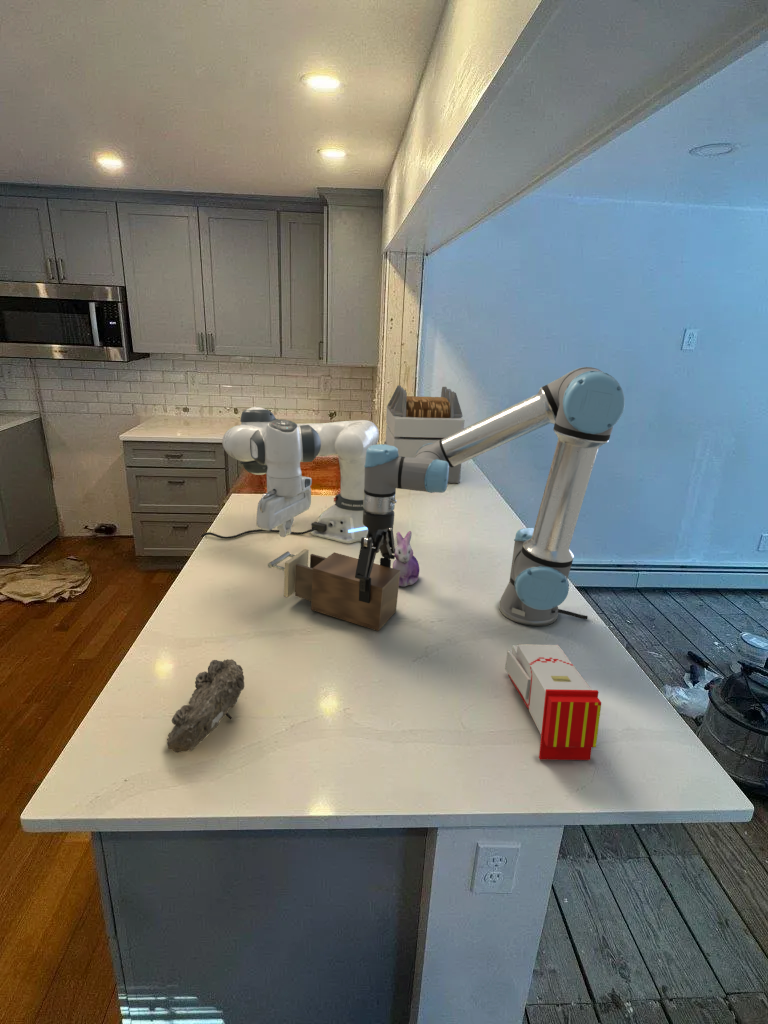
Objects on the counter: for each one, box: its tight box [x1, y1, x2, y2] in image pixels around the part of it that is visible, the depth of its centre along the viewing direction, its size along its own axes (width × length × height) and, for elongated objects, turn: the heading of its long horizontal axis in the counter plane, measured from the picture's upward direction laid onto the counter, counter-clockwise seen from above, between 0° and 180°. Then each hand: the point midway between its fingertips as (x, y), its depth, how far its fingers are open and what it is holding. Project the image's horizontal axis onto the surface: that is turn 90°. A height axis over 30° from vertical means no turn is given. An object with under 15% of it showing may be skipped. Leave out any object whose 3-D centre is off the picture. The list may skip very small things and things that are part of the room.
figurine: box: [392, 530, 420, 588], centre depth 163 cm, size 9×10×15 cm
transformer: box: [383, 384, 465, 484], centre depth 268 cm, size 34×33×41 cm
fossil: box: [166, 658, 245, 754], centre depth 106 cm, size 22×10×15 cm
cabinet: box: [310, 552, 400, 632], centre depth 145 cm, size 19×11×12 cm, turn 66°
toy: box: [504, 643, 602, 761], centre depth 112 cm, size 12×13×30 cm
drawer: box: [267, 548, 327, 602], centre depth 150 cm, size 24×10×10 cm, turn 66°
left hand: (285, 535), depth 149 cm, fingers closed
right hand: (374, 591), depth 143 cm, fingers closed on cabinet, 11 cm apart
